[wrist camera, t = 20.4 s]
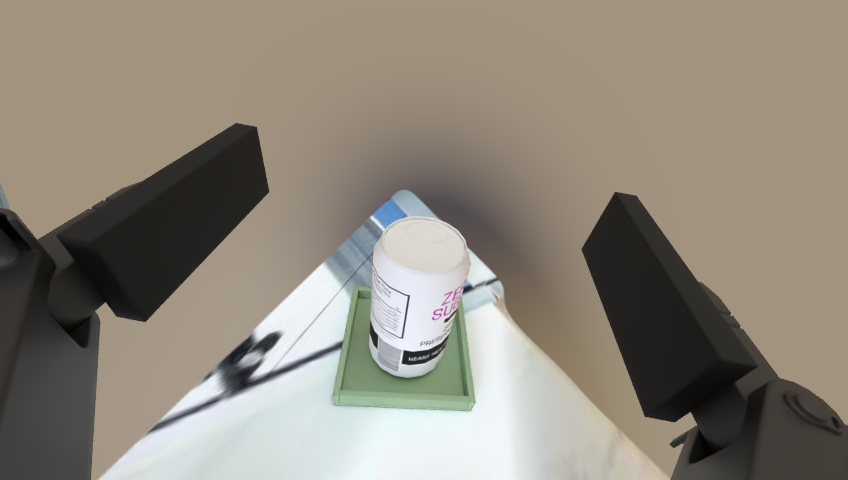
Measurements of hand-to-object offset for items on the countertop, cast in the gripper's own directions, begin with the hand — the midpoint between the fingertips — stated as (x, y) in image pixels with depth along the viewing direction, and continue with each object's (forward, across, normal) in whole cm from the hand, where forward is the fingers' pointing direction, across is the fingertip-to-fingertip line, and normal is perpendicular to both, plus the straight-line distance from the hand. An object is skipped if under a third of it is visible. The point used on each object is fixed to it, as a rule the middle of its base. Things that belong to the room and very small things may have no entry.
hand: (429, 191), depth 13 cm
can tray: (+10, 0, -26) cm, 28 cm away
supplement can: (+10, 0, -26) cm, 28 cm away
